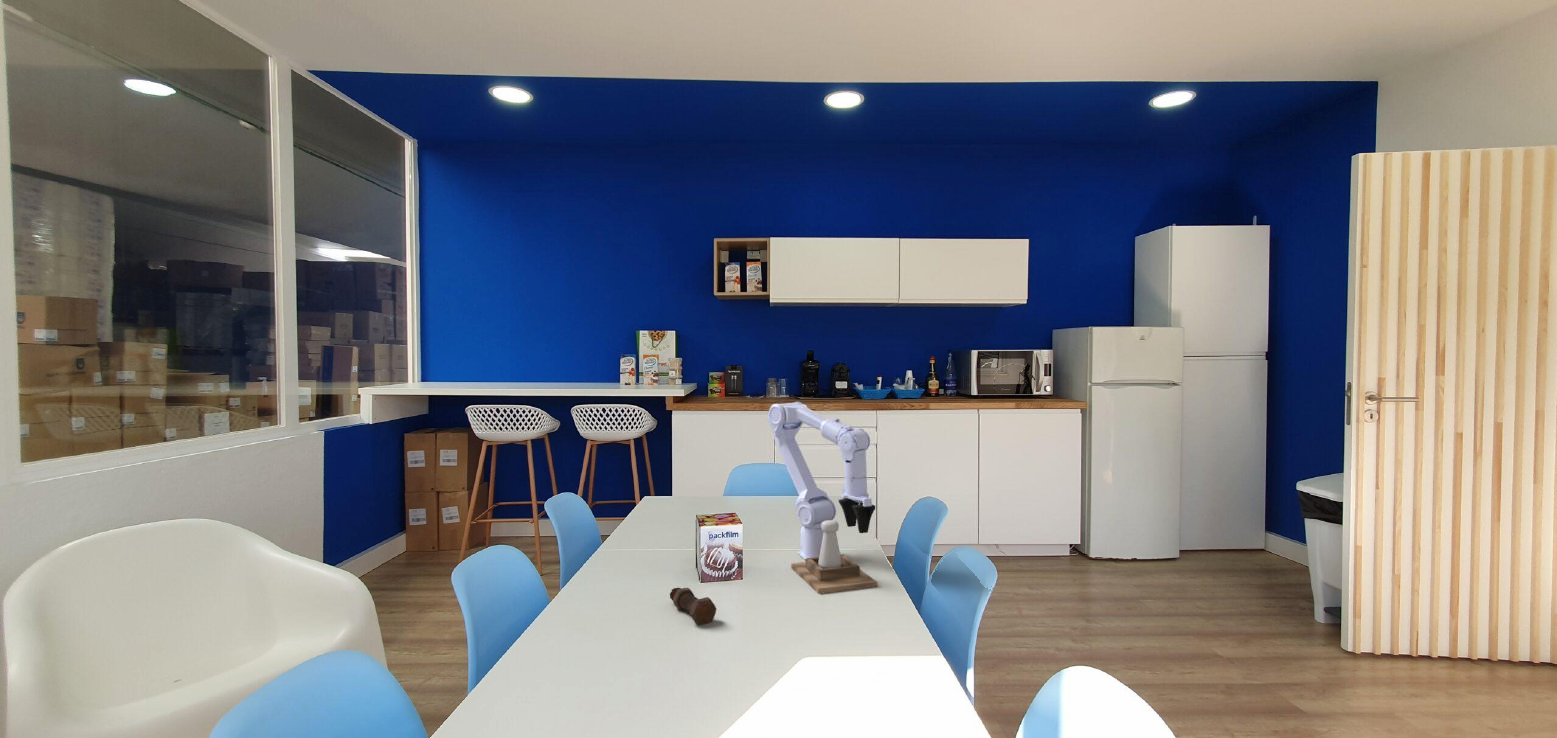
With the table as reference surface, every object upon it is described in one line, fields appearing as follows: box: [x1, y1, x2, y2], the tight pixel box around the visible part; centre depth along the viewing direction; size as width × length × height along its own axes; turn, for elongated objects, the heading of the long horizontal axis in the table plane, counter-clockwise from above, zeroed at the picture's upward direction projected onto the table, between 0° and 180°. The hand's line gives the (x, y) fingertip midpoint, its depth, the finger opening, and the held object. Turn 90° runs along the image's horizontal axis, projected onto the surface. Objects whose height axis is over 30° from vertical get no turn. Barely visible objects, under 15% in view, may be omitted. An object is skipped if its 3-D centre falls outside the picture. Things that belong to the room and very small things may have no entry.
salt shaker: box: [818, 519, 842, 569], centre depth 171 cm, size 6×6×13 cm
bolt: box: [669, 587, 717, 626], centre depth 150 cm, size 6×5×15 cm
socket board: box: [790, 553, 878, 595], centre depth 172 cm, size 20×15×4 cm
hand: (857, 529), depth 177 cm, fingers open, 7 cm apart
